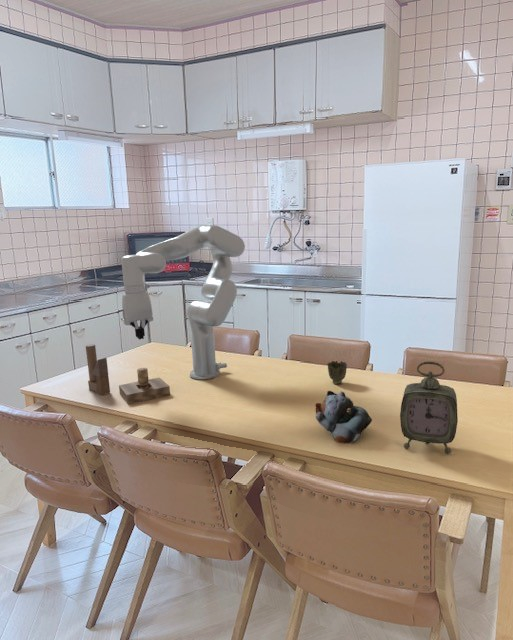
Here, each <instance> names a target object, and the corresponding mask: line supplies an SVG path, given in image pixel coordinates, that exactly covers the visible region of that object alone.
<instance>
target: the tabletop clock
mask: <svg viewBox="0 0 513 640" xmlns="http://www.w3.org/2000/svg"><path fill="white" fill-rule="evenodd" d="M423 365H435V366H438V367H440V368H441V370H442V371H441V372H440V373H437V374H433V371H429V372H428V373H424V372H422V371H420V367H422V366H423ZM416 371H417V373H418V374H419V375H421V376H424V378H422V380H421V381H420V382H412V383H409V384H406V387H405V388H404V391H403V395H402V400H401V405H400V413H399V414H400V415H399V417H400V419H399V420H400V429H401V433H402V435H403V437H404V438H407V439H408V441H407V442H405V443H404V444H403V447H404V449H406V450H407V449H410V448H411V447H410V446H411V445H410V443H411V442H412V441H416V442H422V443H425V444H426V445H429V444H442V445H444V447H445V449H444V453H445V454H447V455H450V454H451V453H452V449H451V448H450V447H448V444H450V443H453V440H454V439H455V437H456V433H457V428H458V421H459V420H458V399H457V393H456V391H455V389H454V388H453V387H450V386H448V385H445V384H440V381H439V380H438V379H437V378H438V377H441V376H443V375H444V373H445V371H446V370H445V368H444V366H443V365H442V364H441V363H439V362H435V361H423V362H420V363H419V364H418V365H417V367H416Z"/></svg>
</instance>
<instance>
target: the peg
mask: <svg viewBox="0 0 513 640" xmlns="http://www.w3.org/2000/svg"><path fill="white" fill-rule="evenodd" d="M136 371H137V372H136V373H137V382H138V383H139V386H140V389H142V388H147V387H148V382H149V371H148V367H139V368H137V370H136Z"/></svg>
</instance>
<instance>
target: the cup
mask: <svg viewBox="0 0 513 640" xmlns="http://www.w3.org/2000/svg"><path fill="white" fill-rule="evenodd" d="M347 369H348V364H347V362H346V361H342V360H341V361H340V362H338V361H337V360H336V361H331V362H327V371H328V376H329V378H330V379H331V380H332V382H331V383H332V384H333V385H341V384H342V383H343V380H345V377H346V374H347Z"/></svg>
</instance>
